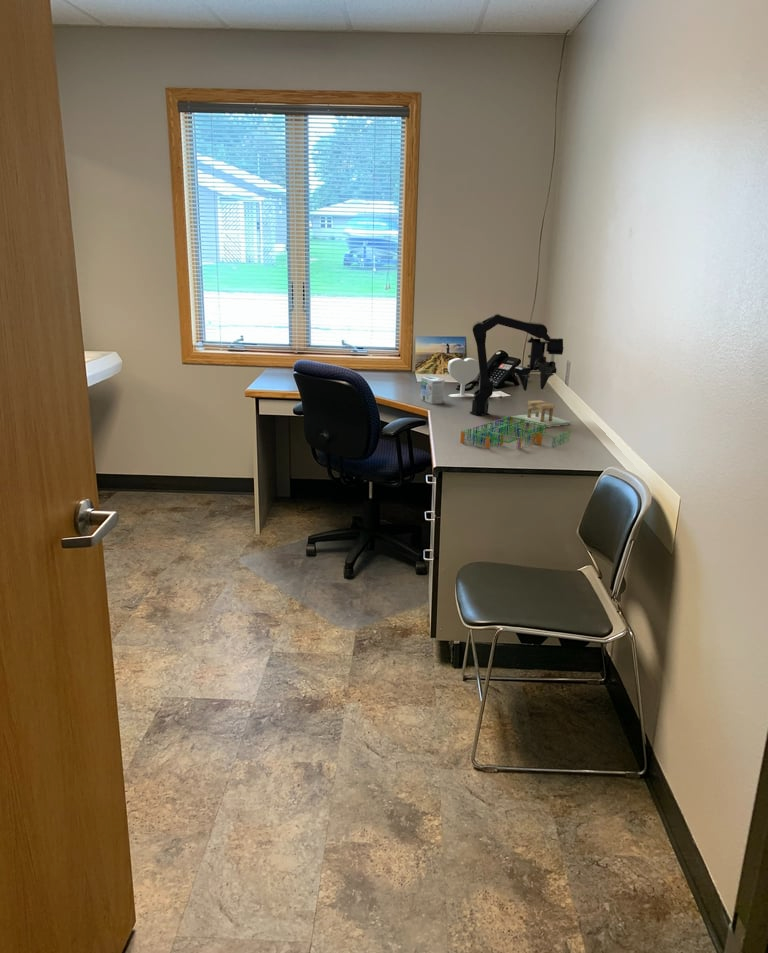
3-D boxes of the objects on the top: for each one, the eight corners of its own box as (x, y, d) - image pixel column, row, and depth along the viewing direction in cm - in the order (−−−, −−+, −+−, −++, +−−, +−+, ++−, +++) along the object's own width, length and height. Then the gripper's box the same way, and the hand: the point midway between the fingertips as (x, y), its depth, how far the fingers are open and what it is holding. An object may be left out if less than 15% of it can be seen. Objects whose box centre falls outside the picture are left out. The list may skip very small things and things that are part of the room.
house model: (506, 427, 308) (507, 415, 307) (572, 441, 290) (573, 429, 289) (458, 443, 282) (459, 430, 281) (527, 459, 265) (528, 446, 263)
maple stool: (526, 417, 319) (527, 401, 317) (537, 415, 322) (538, 399, 320) (542, 422, 311) (543, 405, 309) (552, 421, 314) (554, 404, 312)
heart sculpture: (475, 394, 368) (477, 357, 362) (478, 396, 363) (481, 359, 358) (445, 394, 364) (447, 357, 359) (448, 397, 360) (450, 359, 354)
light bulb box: (419, 399, 352) (420, 376, 349) (432, 398, 355) (433, 375, 352) (431, 404, 343) (432, 380, 340) (443, 403, 346) (445, 380, 343)
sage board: (537, 428, 305) (537, 426, 305) (509, 419, 320) (509, 416, 319) (570, 424, 314) (570, 421, 313) (541, 415, 328) (541, 412, 328)
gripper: (531, 357, 306) (528, 394, 311) (567, 355, 315) (562, 392, 320) (515, 353, 316) (511, 389, 320) (549, 351, 324) (545, 387, 329)
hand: (533, 389), depth 322 cm, fingers open, 9 cm apart
